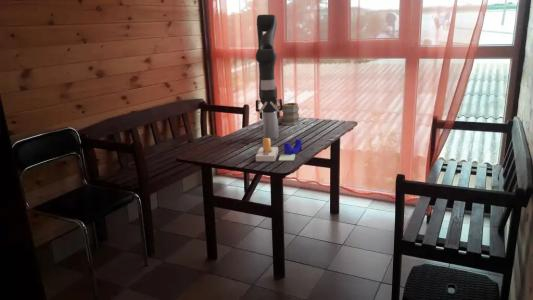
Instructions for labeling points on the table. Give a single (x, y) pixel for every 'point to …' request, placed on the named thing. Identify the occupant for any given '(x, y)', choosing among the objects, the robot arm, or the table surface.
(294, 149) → the cable clip
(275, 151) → the white slab with hole
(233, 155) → the table surface
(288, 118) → the tankard
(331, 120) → the table surface
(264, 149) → the plug
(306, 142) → the table surface
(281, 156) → the mat
